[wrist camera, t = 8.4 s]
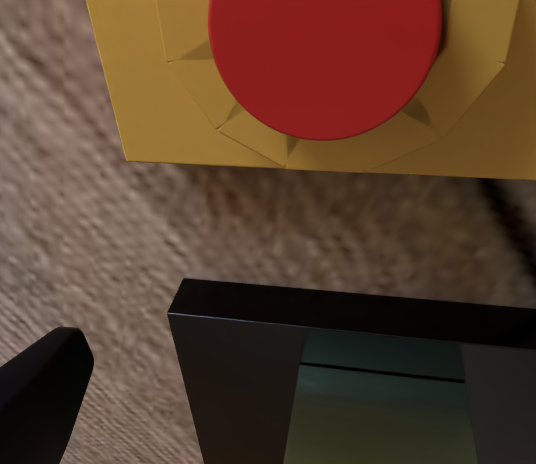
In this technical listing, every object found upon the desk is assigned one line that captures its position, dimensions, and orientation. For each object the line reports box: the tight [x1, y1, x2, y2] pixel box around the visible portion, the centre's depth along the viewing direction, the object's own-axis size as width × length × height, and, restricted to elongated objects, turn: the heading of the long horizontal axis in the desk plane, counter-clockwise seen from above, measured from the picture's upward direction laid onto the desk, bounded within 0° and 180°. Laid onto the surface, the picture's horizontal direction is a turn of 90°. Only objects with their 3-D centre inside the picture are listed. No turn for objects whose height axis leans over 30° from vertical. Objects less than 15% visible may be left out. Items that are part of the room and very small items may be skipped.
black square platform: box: [167, 278, 536, 464], centre depth 23 cm, size 16×14×2 cm
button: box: [208, 0, 442, 141], centre depth 9 cm, size 4×4×2 cm
